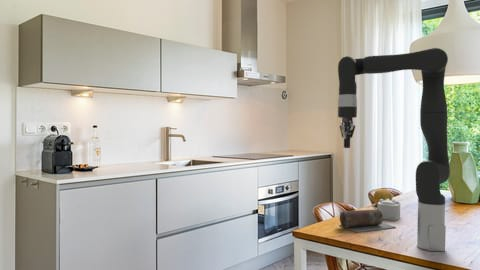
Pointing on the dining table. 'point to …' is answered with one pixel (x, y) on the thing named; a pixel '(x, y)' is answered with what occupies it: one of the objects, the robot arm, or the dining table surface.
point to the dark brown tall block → (361, 218)
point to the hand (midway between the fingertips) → (346, 147)
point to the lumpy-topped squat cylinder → (389, 209)
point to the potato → (382, 195)
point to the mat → (370, 228)
